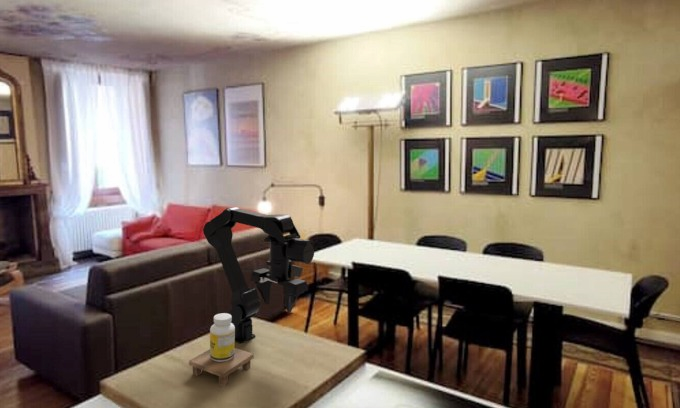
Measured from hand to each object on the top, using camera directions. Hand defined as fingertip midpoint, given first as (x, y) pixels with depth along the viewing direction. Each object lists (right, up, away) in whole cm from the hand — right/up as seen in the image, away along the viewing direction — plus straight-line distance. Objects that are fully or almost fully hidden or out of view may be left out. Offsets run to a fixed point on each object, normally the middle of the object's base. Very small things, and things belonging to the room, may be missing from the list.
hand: (278, 308), depth 134 cm
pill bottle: (-14, -11, -12) cm, 21 cm away
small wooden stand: (-14, -14, -12) cm, 23 cm away
